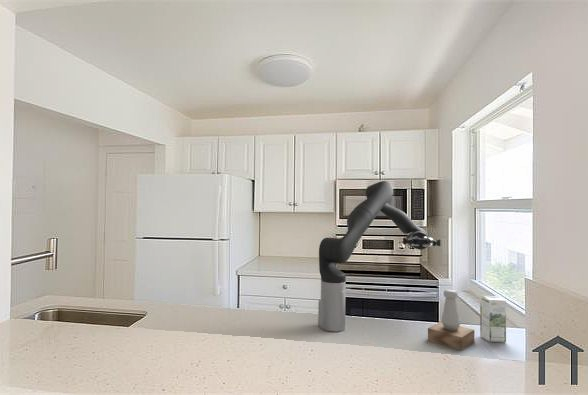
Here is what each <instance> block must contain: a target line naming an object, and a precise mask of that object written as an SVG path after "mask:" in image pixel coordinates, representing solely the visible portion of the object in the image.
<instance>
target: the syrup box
mask: <svg viewBox="0 0 588 395" xmlns="http://www.w3.org/2000/svg"><path fill="white" fill-rule="evenodd" d="M479 300H480V305H479V307H480V308H479V309H480V310H479V311H480V314H479V316H480V317H479V318H480V323H479V324H480V326H479V328H480V335H479V336H480V337H481V338H482V339H484V340H485V341H487V342H489V343H502V342H506V343H507V301H506V299H504V298H502V297H501V296H496V295H495V296H494V295H480V297H479Z"/></svg>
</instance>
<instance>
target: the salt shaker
mask: <svg viewBox="0 0 588 395" xmlns="http://www.w3.org/2000/svg"><path fill="white" fill-rule="evenodd" d="M443 297H444V298H445V300H444V305H443V310H442V315H441V319H440V322H442V324H443V326H444V328H445V329H447V330H450V331H456V330H458V328H459V326H461V320H460V313H459V309H458V304H457V298H458V292H457V291H456V290H454V289H449V288H448V289H444V291H443Z"/></svg>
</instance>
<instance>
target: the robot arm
mask: <svg viewBox="0 0 588 395" xmlns="http://www.w3.org/2000/svg"><path fill="white" fill-rule="evenodd" d="M393 194H394V189H393V185H392V184H391V183H390V182H389V181H387V180H383V181H382V180H381V181H378V182H376V183H373V184H371V185H369V186H367V187H366V188H365V197H366V199H365V200H363V201H362V202H360V203H359V204H357V206H355V207H354V208H353V210H352V211H351V212H350V213H349V214H348V217H347V220H346V226H347V232H346V233H345V234H344V235H343V236H341V237H340V238H339V237H324V238H322V240H321V241H320V243H319V246H318V267H319V268H318V271H319V275H320V299H319V300H318V307H317V308H318V311H317V313H318V316H317V317H318V318H317V319H318V320H317V326H318V327H320V329H321V330H324V331H327V332H334V333H335V332H343V331H344V330H345V329H346V294H347V293H346V281H347V280H346V279H347V278H346V273H344V271H341V269H339V268H338V267H337V265H336V264H345V263H346V262H347V261H348V260H349V259H350V257H351V256H352V254H353V252H354V250H355V248H356V246H357V245H358V243H359V241H360V240H361V238H362V237H363V235H364V234H365V232H366V231H367V230H368V228H369V227H370V226H371V224H372V223H373V221H374V220H375V219H376V217H377V216H378V214H379V213H383V214H384V215H385V216H386V217H387V218H389V219H390V220H391V221H392V222H393V223H394V224H395V226H396V227H397V228H398V229H399V230H400V231H401V233H402V234H405V235H407V234H408V235H407V236H406V237H402V245H405V246H406V244H407V245H408V246H409V247H410V248H412V249H416V250H420V251H421V250H425V249H427V248H428V247H440V246H441V245H442V244H441V242H442V240H441V239H439V238H434V239H433V238H432V237H429V234H428V232H427V231H426V230H425V229H424V228H422V227H420V226H419V225H417V224H416V223H415V222H413V220H412V219H411V218H410V217H409V216H408V214H407V213H405V212H404V211H403V210H401V209H399V208H396V207H394V206H393V205H392V204H389V203H388V202H390V200H391V199H392V197H393Z"/></svg>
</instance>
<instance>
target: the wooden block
mask: <svg viewBox="0 0 588 395" xmlns="http://www.w3.org/2000/svg"><path fill="white" fill-rule="evenodd" d="M427 341H430V342H433V343H437V344H439V345H443V346H446V347H450V348H452V349H455V350H460V351H463V350H465V349H467V348H468V347H469V346H471V345H473V343H475V329H472V328H468V327H464V326H462V325H460V326H459V328H458V330H456V331H450V330H447V329H445V328H444V326H443V324H442V321H440V322H437V323H436V324H434V325H431V326H430V327H427Z"/></svg>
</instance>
